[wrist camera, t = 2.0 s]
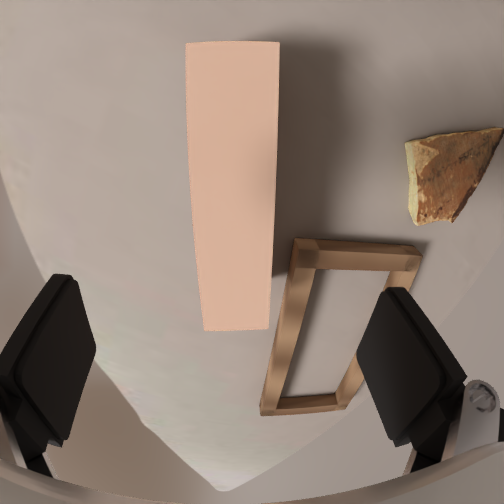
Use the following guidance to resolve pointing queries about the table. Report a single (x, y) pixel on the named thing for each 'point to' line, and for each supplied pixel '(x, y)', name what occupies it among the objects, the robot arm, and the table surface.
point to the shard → (447, 172)
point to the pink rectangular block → (233, 177)
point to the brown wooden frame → (294, 304)
